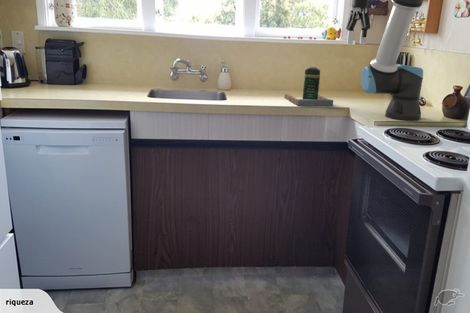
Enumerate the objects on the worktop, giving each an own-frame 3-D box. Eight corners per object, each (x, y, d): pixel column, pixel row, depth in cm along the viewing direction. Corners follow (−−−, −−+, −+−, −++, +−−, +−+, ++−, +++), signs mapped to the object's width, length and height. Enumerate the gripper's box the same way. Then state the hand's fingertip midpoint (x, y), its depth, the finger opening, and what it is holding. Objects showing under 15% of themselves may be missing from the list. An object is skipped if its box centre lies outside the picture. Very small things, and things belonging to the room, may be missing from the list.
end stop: (332, 106, 216) (333, 100, 215) (297, 106, 213) (298, 100, 212) (330, 105, 219) (331, 99, 218) (296, 104, 216) (296, 99, 215)
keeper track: (331, 105, 218) (331, 100, 218) (296, 105, 216) (296, 100, 215) (315, 98, 241) (316, 93, 240) (284, 97, 238) (284, 93, 238)
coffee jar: (316, 105, 218) (320, 68, 212) (301, 104, 219) (304, 67, 214) (318, 102, 227) (321, 66, 221) (303, 101, 228) (306, 66, 223)
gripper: (381, -3, 195) (375, 44, 200) (355, 1, 218) (351, 44, 224) (366, -4, 193) (361, 44, 199) (342, 0, 217) (338, 43, 222)
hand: (355, 44), depth 211 cm, fingers open, 13 cm apart
